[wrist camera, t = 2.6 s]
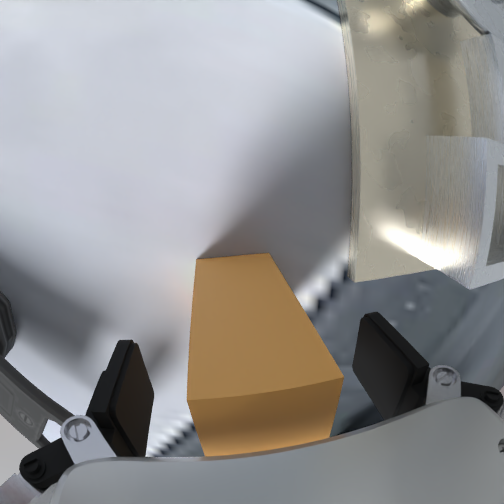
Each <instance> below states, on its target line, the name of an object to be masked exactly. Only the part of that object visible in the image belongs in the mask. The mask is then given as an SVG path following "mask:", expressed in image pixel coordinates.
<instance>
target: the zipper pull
mask: <svg viewBox="0 0 504 504" xmlns="http://www.w3.org/2000/svg"><path fill="white" fill-rule="evenodd" d="M15 336H16V328H15V324H14V320H13V315H12V311H11V306H10V302H9V301H8V299H7V298H6V297H5V296H4V295H3V294H2V293H1V292H0V414H1V415H2V416H3V417H4V418H5V419H6V420H7V421H8V422H9V423H11V425H12V426H13V427H15V428H16V429H17V430H18V431H19V432H20V433H21V434H22V435H23V436H25V437H26V438H27V439H28V440H29V441H30V442H32V443H33V444H34V445H35V446H36V447H38V448H39V449H40V448H42V447H44V446H46V445H48V444H50V442H49V441H48V440H47V439H46V438H45V437H44V435H43V434H42V433H43V431H44V428H45V426H46V423H47V421H48V419H50V420H52V421H55V422H57V423H58V424H59V425H60V426H62V424H63V423H64V422H65V421H66V420H67V419H69V418H70V417H73V416H75V415H73V414H72V413H70V412H69V411H68V410H66V409H65V408H63V407H62V406H60V405H59V404H58V403H56V402H55V401H53V400H52V399H51V398H49V397H48V396H47V395H46V394H44V393H43V392H42V391H41V390H39V389H38V388H37V387H36V386H34V385H33V384H32V383H31V382H30V381H28V380H27V379H26V378H25V377H24V376H23V375H22V374H21V373H19V372H18V371H17V370H16V369H15V368H14V367H13V366H12V365H11V364H10V363H9V362H8V361H7V360H6V359H4V358H5V357H6V355H7V354H8V353H9V351H10V350H11V349H12V348H13V345H14V341H15Z"/></svg>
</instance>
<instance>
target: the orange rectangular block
mask: <svg viewBox="0 0 504 504" xmlns="http://www.w3.org/2000/svg"><path fill="white" fill-rule="evenodd" d="M343 379H344V376H343V374H342V373H341V371H340V369H339V368H338V366H337V364H336V363H335V361H334V359H333V358H332V356H331V354H330V353H329V351H328V349H327V348H326V346H325V344H324V343H323V341H322V339H321V338H320V336H319V334H318V333H317V331H316V329H315V328H314V326H313V324H312V323H311V321H310V319H309V318H308V316H307V314H306V313H305V311H304V309H303V308H302V306H301V305H300V303H299V301H298V300H297V298H296V296H295V295H294V293H293V291H292V290H291V288H290V287H289V285H288V283H287V282H286V280H285V278H284V277H283V275H282V273H281V272H280V270H279V269H278V267H277V265H276V264H275V262H274V260H273V259H272V257H271V256H270V254H269V253H260V254H249V255H238V256H227V257H216V258H205V259H196V269H195V279H194V290H193V301H192V314H191V327H190V342H189V360H188V380H187V402H188V406H189V409H190V412H191V415H192V419H193V422H194V425H195V428H196V431H197V434H198V437H199V440H200V442H201V445H202V448H203V451H204V454H205V456H221V455H233V454H242V453H251V452H259V451H266V450H272V449H278V448H284V447H289V446H294V445H299V444H304V443H309V442H313V441H317V440H322V439H326V438H329V436H330V432H331V428H332V425H333V421H334V417H335V413H336V409H337V405H338V401H339V397H340V393H341V388H342V384H343Z"/></svg>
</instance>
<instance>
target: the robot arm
mask: <svg viewBox="0 0 504 504" xmlns="http://www.w3.org/2000/svg"><path fill="white" fill-rule="evenodd" d="M428 366H429V363H428V362H427V361H426V360H425V359H424V358H423V357H422V356H421V355H420V354H419V353H418V352H417V351H416V350H415V349H414V348H413V347H412V346H411V344H410V343H409V342H408V341H407V340H406V339H405V338H404V337H403V336H402V335H401V334H400V333H399V332H398V331H397V330H396V329H395V328H394V327H393V326H392V325H391V324H390V323H389V322H388V321H387V320H386V319H385V318H384V317H383V316H382V315H381V314H380V313H378V312H373V313H368V314H365V315H364V317H363V318H361V320H360V326H359V332H358V338H357V344H356V349H355V355H354V360H353V365H352V367H353V371H354V373H355V375H356V376H357V378H358V380H359V381H360V383H361V384H362V386H363V387H364V389H365V390H366V392H367V394H368V395H369V397H370V398H371V400H372V401H373V403H374V405H375V406H376V408H377V409H378V411H379V413H380V414H381V416H382V417H383V419H384V421H382V422H379V423H376V424H373V425H370V426H367V427H364V428H361V429H358V430H355V431H351V432H348V433H344V434H341V435H337V436H333V437H330V438H326V439H322V440H317V441H313V442H309V443H304V444H299V445H294V446H289V447H284V448H278V449H272V450H266V451H259V452H251V453H242V454H233V455H221V456H206V457H145V455H146V447H147V440H148V432H149V426H150V419H151V413H152V406H153V400H154V391H153V388H152V385H151V382H150V379H149V376H148V373H147V370H146V367H145V364H144V361H143V358H142V355H141V352H140V349H139V346H138V344H137V343H134V342H133V340H119V341H118V343H117V345H116V347H115V350H114V352H113V354H112V357H111V359H110V362H109V364H108V367H107V369H106V371H103V372H102V374H101V376H100V378H99V381H98V383H97V386H96V388H95V391H94V394H93V396H92V399H91V401H90V404H89V407H88V409H87V412H86V415H85V416H83V415H76V416H73V417H70V418H69V419H67V420H66V421H65V422H64V423H63V424H62V426H61V430H60V434H61V438H59V439H57V440H55V441H54V442H52V443H50V444H48V445H46V446H44V447H42V448H40V449H38V450H36V451H34V452H32V453H30V454H28V455H26V456H25V457H24V458H23V459H22V460H21V463H20V468H19V470H20V473H19V474H18V475H16V474H15V473H14V474H13V475H12V476H11V477H10V478H9V479H8V480H7V481H6V482H5V483H4V484H2V485H1V486H0V504H504V399H503V396H502V394H501V392H500V391H499V390H497V389H495V388H493V387H489V386H483V385H478V384H472V383H467V382H462V381H461V378H460V374H459V373H458V371H456V370H455V369H454V368H452V367H450V366H446V365H439V366H436V367H434V368H432V369H430V368H429V367H428Z"/></svg>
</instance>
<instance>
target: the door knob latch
mask: <svg viewBox="0 0 504 504" xmlns="http://www.w3.org/2000/svg"><path fill="white" fill-rule="evenodd" d="M337 3H338V8H339V14H340V20H341V26H342V33H343V40H344V47H345V55H346V64H347V74H348V85H349V98H350V113H351V135H352V211H351V234H350V250H349V264H348V277H349V278H350V279H351V280H352V281H353V282H361V281H368V280H374V279H380V278H387V277H393V276H399V275H405V274H410V273H416V272H422V271H427V270H433V269H437V270H439V271H441V272H442V273H444V274H446V275H447V276H449V277H451V278H452V279H454V280H455V281H457V282H459V283H460V284H462V285H463V286H465V287H467V288H468V289H473V288H476V287H479V286H483V285H486V284H489V283H492V282H495V281H498V280H501V279H503V278H504V0H337Z"/></svg>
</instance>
